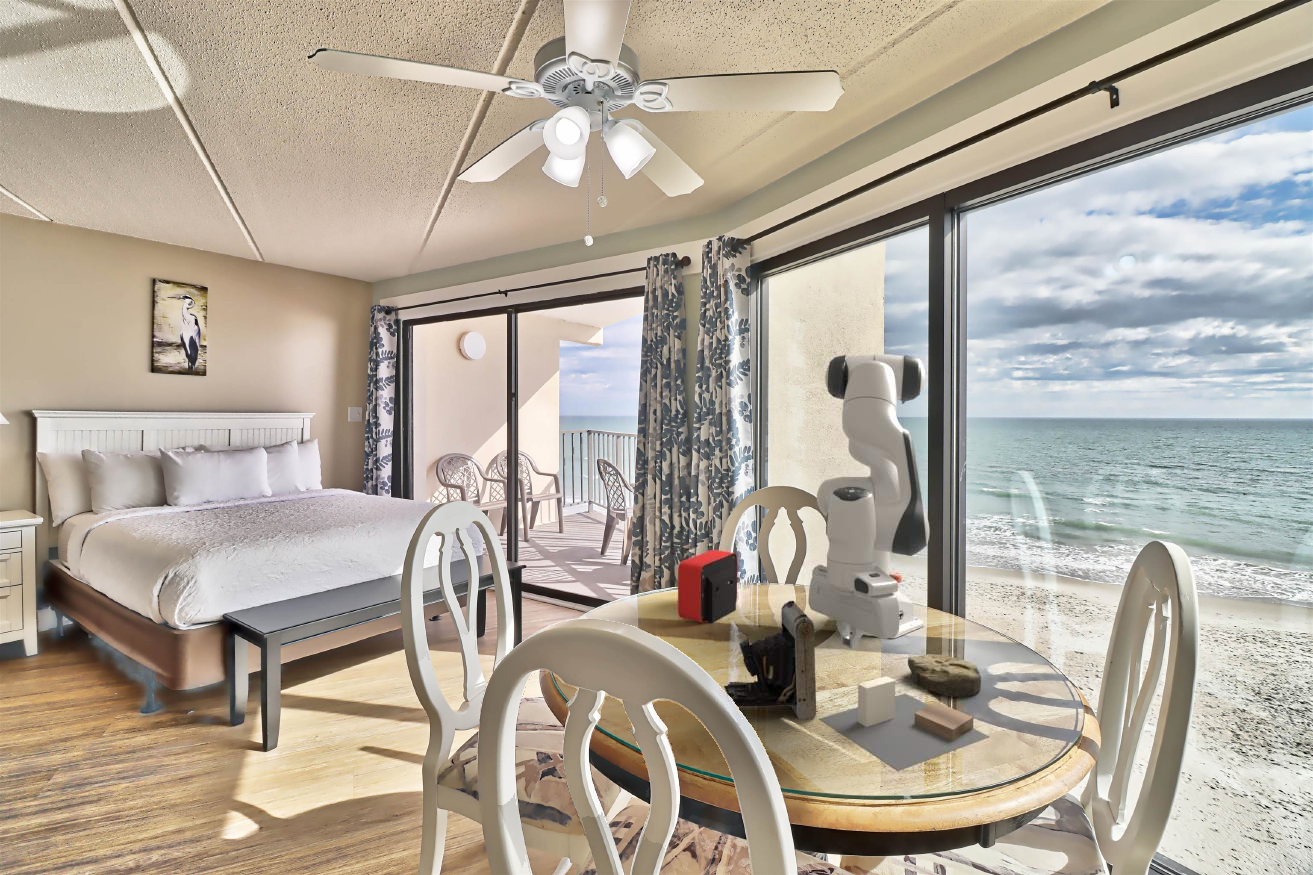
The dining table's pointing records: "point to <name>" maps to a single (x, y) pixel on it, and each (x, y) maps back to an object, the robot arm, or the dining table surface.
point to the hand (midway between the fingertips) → (849, 646)
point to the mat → (899, 735)
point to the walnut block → (944, 721)
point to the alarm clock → (707, 586)
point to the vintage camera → (781, 667)
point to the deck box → (876, 701)
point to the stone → (945, 675)
